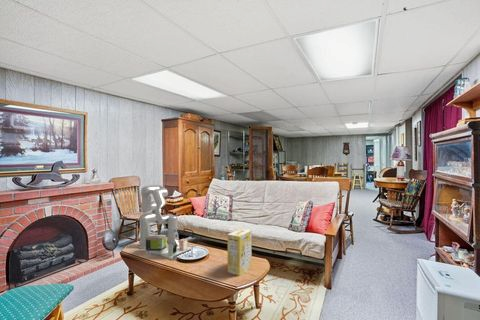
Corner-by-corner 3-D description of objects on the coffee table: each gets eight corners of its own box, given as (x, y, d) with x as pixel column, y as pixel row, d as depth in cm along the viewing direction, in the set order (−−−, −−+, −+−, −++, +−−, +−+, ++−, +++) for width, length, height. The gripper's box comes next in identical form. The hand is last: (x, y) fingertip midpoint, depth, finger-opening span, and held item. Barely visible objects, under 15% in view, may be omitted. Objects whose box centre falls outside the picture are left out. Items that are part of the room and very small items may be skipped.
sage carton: (168, 253, 197) (168, 243, 197) (172, 252, 201) (172, 241, 201) (172, 255, 194) (172, 244, 194) (176, 253, 198) (176, 242, 199)
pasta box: (240, 263, 186) (240, 228, 187) (251, 266, 181) (251, 230, 181) (227, 272, 171) (227, 234, 171) (239, 275, 165) (239, 236, 166)
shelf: (160, 255, 201) (160, 250, 201) (178, 248, 217) (178, 243, 217) (173, 260, 191) (173, 254, 191) (191, 252, 208) (191, 247, 208)
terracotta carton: (179, 250, 208) (179, 240, 209) (183, 248, 213) (183, 238, 213) (183, 251, 206) (183, 241, 206) (187, 249, 210) (187, 239, 210)
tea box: (166, 250, 212) (166, 234, 212) (161, 255, 202) (161, 238, 202) (150, 250, 213) (151, 234, 213) (145, 254, 203) (145, 237, 203)
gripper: (182, 231, 196) (182, 252, 196) (169, 227, 206) (169, 248, 206) (175, 233, 190) (175, 255, 190) (162, 229, 200) (162, 250, 200)
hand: (172, 251), depth 198 cm, fingers closed on sage carton, 4 cm apart
